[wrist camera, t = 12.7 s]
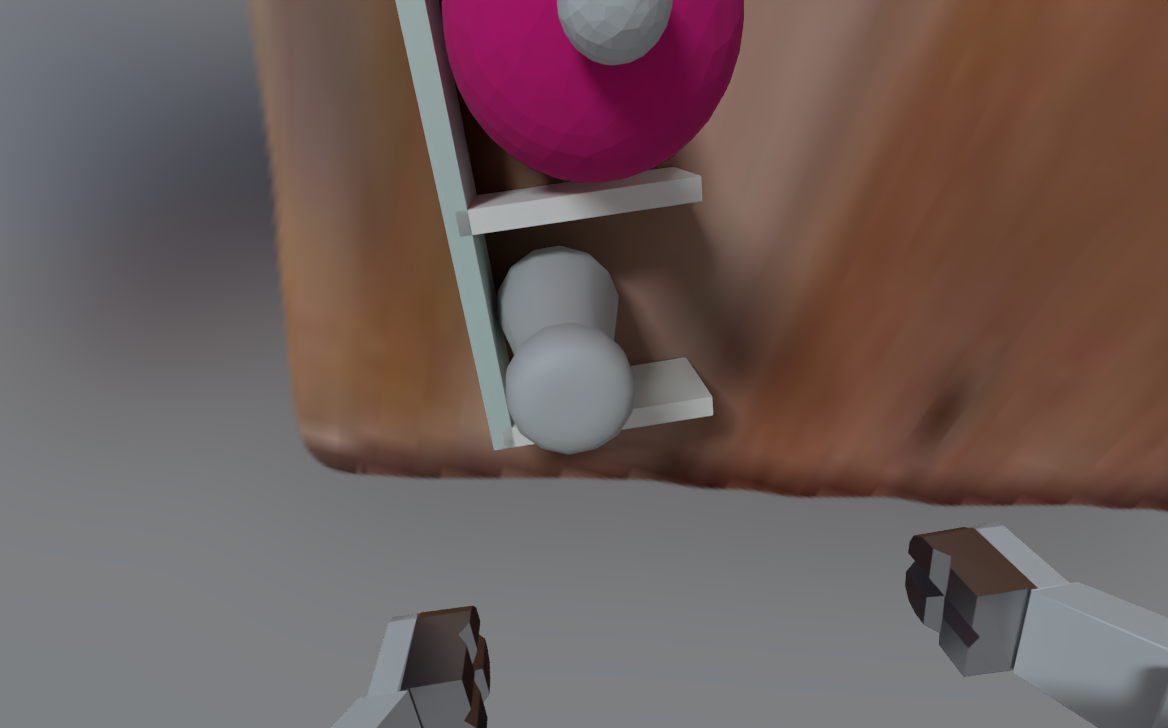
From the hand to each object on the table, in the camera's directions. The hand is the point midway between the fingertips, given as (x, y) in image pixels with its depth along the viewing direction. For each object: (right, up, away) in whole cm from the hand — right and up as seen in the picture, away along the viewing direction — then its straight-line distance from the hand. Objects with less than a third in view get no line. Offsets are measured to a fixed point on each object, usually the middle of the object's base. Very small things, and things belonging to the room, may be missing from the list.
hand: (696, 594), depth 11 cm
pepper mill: (-3, +17, +16) cm, 24 cm away
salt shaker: (-4, +8, +20) cm, 21 cm away
